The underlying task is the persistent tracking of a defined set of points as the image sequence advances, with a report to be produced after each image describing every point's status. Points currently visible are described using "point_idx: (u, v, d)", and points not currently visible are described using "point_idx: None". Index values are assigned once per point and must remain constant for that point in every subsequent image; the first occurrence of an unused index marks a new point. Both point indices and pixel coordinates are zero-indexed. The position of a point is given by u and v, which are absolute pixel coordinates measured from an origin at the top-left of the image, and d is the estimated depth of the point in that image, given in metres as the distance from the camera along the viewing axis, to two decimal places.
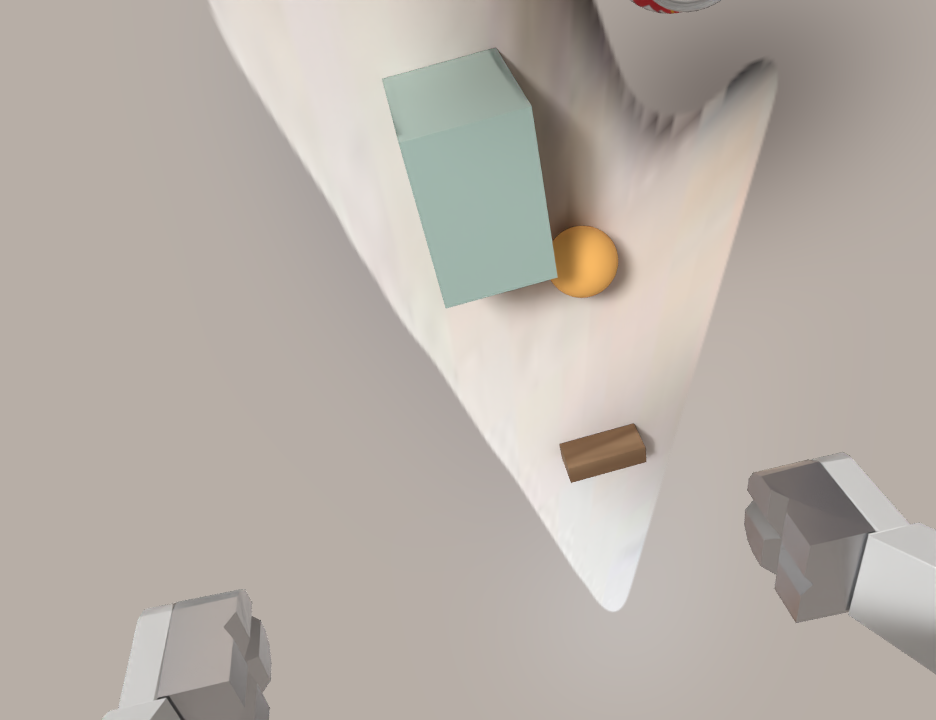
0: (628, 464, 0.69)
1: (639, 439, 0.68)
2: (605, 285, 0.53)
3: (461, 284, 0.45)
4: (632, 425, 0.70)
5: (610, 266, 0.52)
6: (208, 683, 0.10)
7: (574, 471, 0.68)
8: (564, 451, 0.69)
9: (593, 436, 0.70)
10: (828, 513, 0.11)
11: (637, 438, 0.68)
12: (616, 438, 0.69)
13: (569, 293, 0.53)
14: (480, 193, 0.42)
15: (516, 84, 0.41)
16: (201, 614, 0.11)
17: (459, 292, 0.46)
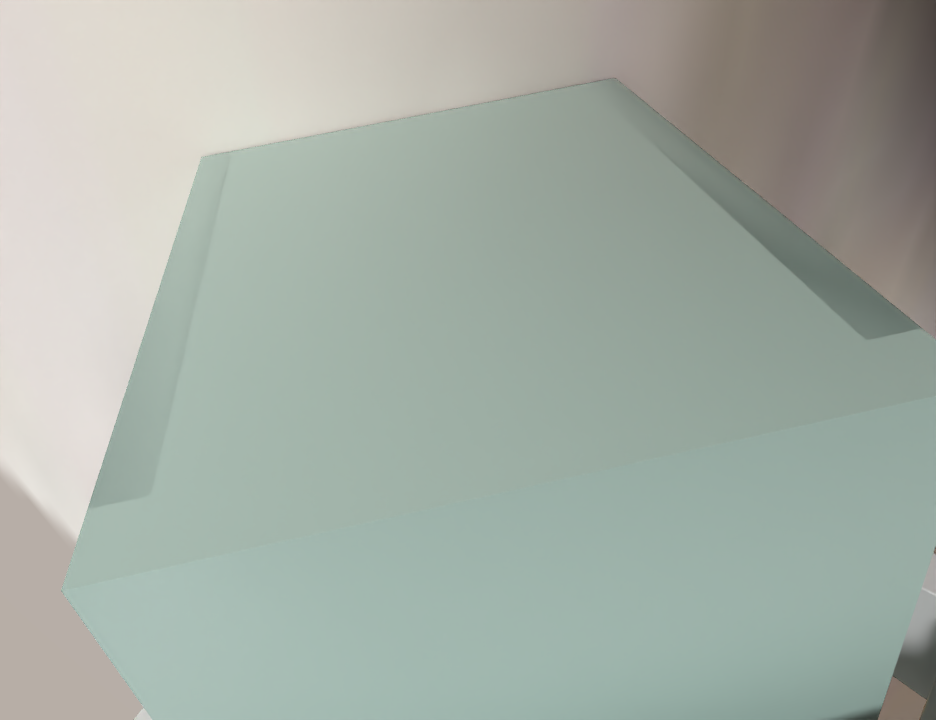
0: None
1: None
2: None
3: None
4: None
5: None
6: None
7: None
8: None
9: None
10: None
11: None
12: None
13: None
14: None
15: (780, 221, 0.08)
16: None
17: None
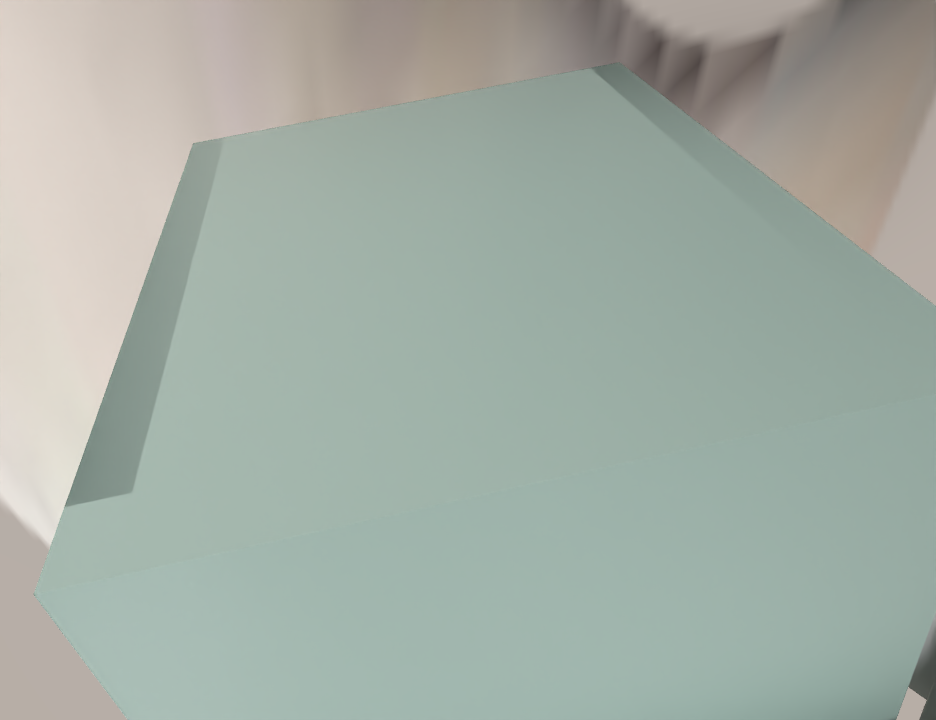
0: None
1: None
2: None
3: None
4: None
5: None
6: None
7: None
8: None
9: None
10: None
11: None
12: None
13: None
14: None
15: (795, 206, 0.08)
16: None
17: None
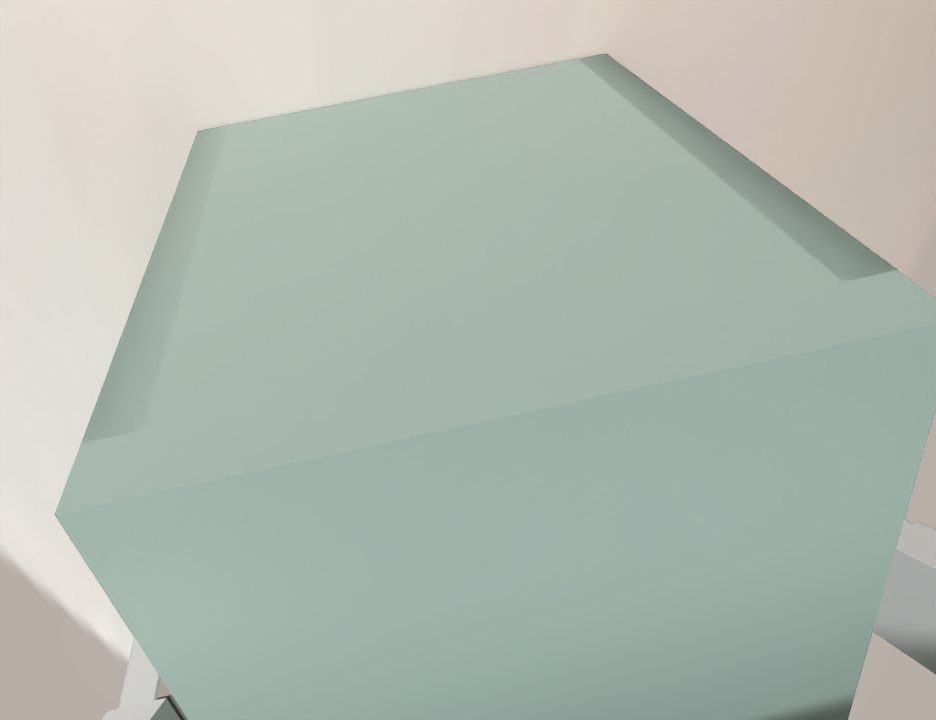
0: None
1: None
2: None
3: None
4: None
5: None
6: None
7: None
8: None
9: None
10: None
11: None
12: None
13: None
14: (561, 705, 0.08)
15: (764, 178, 0.08)
16: None
17: None
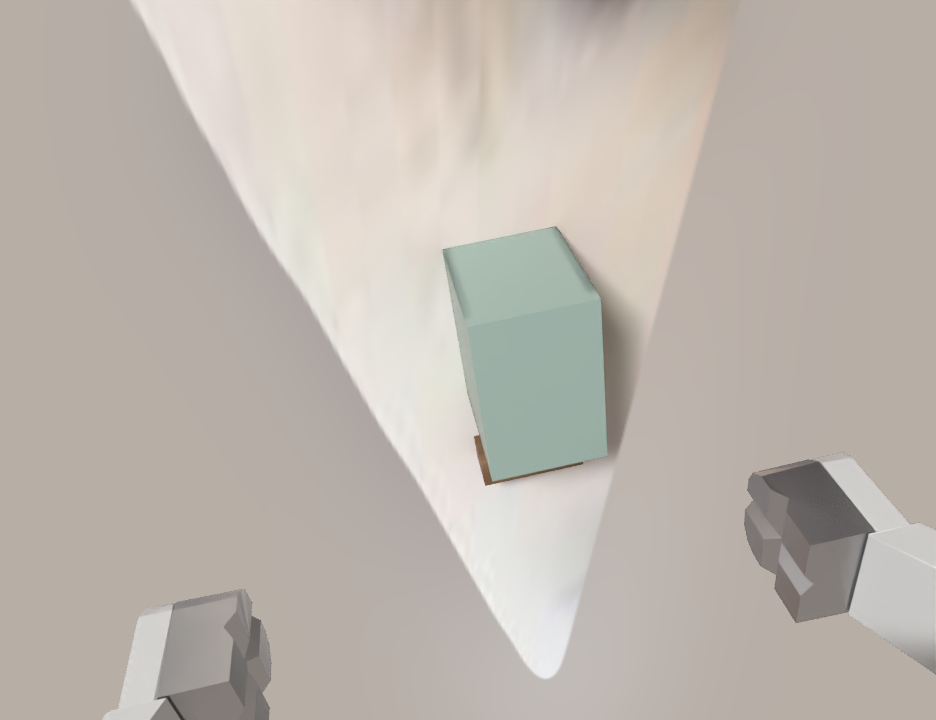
0: None
1: None
2: None
3: (511, 459, 0.44)
4: None
5: None
6: (208, 683, 0.10)
7: None
8: (479, 445, 0.54)
9: None
10: (828, 513, 0.11)
11: None
12: None
13: None
14: (541, 375, 0.41)
15: (582, 271, 0.42)
16: (201, 614, 0.11)
17: (508, 466, 0.45)
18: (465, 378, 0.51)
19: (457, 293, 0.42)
